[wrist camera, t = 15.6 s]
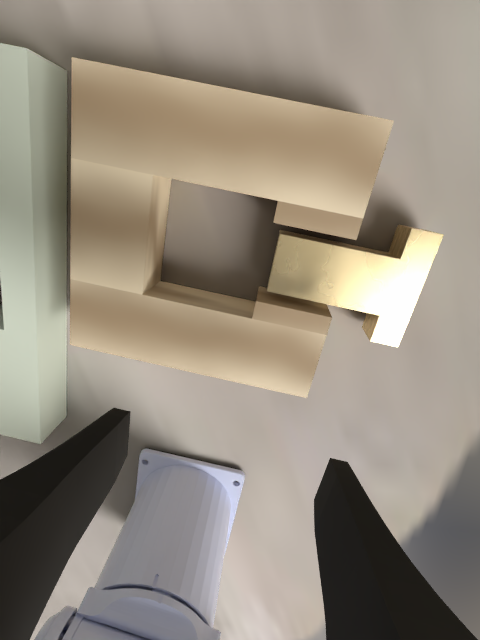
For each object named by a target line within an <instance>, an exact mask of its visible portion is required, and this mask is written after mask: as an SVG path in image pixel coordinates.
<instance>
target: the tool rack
mask: <svg viewBox="0 0 480 640" xmlns="http://www.w3.org/2000/svg"><path fill="white" fill-rule="evenodd" d="M0 280H1V294H2V305H0V435H4V436H8V437H12V438H17V439H21V440H25V441H29V442H34V443H38V444H41V443H42V442H43V441H44V440H45V439H46V438H47V437H48V436H49V435H50V434H51V433H52V431H53V430H54V429H55V428H56V427H57V426H58V425H59V424H60V423H61V422H62V421H63V420H64V419H65V418H66V417H67V70H65V69H63V68H61V67H59V66H58V65H56V64H54V63H52V62H51V61H49V60H47V59H45V58H44V57H42V56H40V55H38V54H36V53H35V52H33V51H31V50H29V49H28V48H23V47H18V46H13V45H8V44H3V43H0Z"/></svg>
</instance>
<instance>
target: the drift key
mask: <svg viewBox="0 0 480 640" xmlns="http://www.w3.org/2000/svg"><path fill="white" fill-rule="evenodd" d="M442 238H443V235H442V234H439V233H435V232H431V231H427V230H423V229H418V228H413V227H408V226H404V225H399V224H398V227H397V229H396V232H395V235H394V238H393V241H392V244H391V246H390V249H389V252H384V251H379V250H374V249H370V248H365V247H360V246H355V245H351V244H346V243H341V242H336V241H332V240H327V239H322V238H317V237H312V236H308V235H303V234H298V233H293V232H289V231H284V230H280V232H279V236H278V241H277V245H276V249H275V254H274V258H273V262H272V267H271V271H270V275H269V280H268V286H267V291H268V292H273V293H277V294H282V295H286V296H291V297H296V298H300V299H305V300H310V301H314V302H319V303H324V304H328V305H333V306H337V307H342V308H347V309H351V310H356V311H361V312H365V313H367V314H366V317H365V320H364V323H363V326H362V328H363V330H364V332H365V333H366V335H367V337H368V338H369V340H370V341H371V342H376V343H381V344H385V345H390V346H394V347H398V346H399V344H400V341H401V339H402V336H403V334H404V331H405V329H406V326H407V324H408V321H409V319H410V316H411V314H412V312H413V309H414V307H415V304H416V302H417V299H418V297H419V294H420V292H421V289H422V287H423V284H424V282H425V280H426V277H427V275H428V272H429V270H430V267H431V265H432V262H433V260H434V257H435V255H436V252H437V250H438V247H439V245H440V243H441V240H442Z"/></svg>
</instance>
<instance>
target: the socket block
mask: <svg viewBox="0 0 480 640" xmlns="http://www.w3.org/2000/svg"><path fill="white" fill-rule="evenodd" d="M393 122H394V121H392V120H387V119H382V118H377V117H372V116H367V115H362V114H357V113H352V112H347V111H342V110H337V109H332V108H327V107H322V106H317V105H312V104H306V103H301V102H296V101H291V100H286V99H281V98H276V97H271V96H266V95H261V94H256V93H251V92H246V91H241V90H236V89H231V88H226V87H221V86H215V85H210V84H205V83H200V82H195V81H190V80H185V79H180V78H175V77H170V76H165V75H160V74H155V73H150V72H145V71H140V70H135V69H130V68H124V67H119V66H114V65H109V64H104V63H99V62H94V61H89V60H84V59H79V58H74V57H72V74H71V247H70V345H73V346H77V347H82V348H86V349H91V350H95V351H100V352H104V353H109V354H113V355H118V356H122V357H126V358H131V359H135V360H140V361H144V362H149V363H153V364H158V365H162V366H166V367H171V368H175V369H180V370H184V371H189V372H193V373H198V374H202V375H206V376H211V377H215V378H220V379H224V380H229V381H233V382H238V383H242V384H246V385H251V386H255V387H260V388H264V389H269V390H273V391H278V392H282V393H286V394H291V395H295V396H300V397H304V398H307V396H308V393H309V389H310V386H311V383H312V380H313V377H314V373H315V370H316V367H317V364H318V361H319V358H320V354H321V351H322V348H323V345H324V342H325V338H326V335H327V332H328V329H329V326H330V323H331V319H332V316H331V314H330V312H329V309H328V307H327V304H324V303H319V302H314V301H310V300H305V299H300V298H296V297H291V296H286V295H282V294H277V293H273V292H268V291H267V288H266V287H261V286H259V289H258V294H257V298H256V302H255V301H251V300H246V299H241V298H237V297H232V296H228V295H223V294H218V293H214V292H209V291H205V290H200V289H195V288H191V287H186V286H182V285H177V284H172V283H168V282H163V281H160V280H161V271H162V262H163V252H164V243H165V234H166V225H167V215H168V206H169V197H170V187H171V179H175V180H180V181H185V182H189V183H194V184H199V185H204V186H209V187H214V188H218V189H223V190H228V191H233V192H238V193H243V194H247V195H252V196H257V197H262V198H267V199H271V200H276V201H278V203H277V207H276V212H275V216H274V221H273V223H277V224H282V225H286V226H291V227H296V228H301V229H306V230H310V231H315V232H320V233H325V234H329V235H334V236H339V237H344V238H348V239H353V240H357V237H358V233H359V230H360V227H361V224H362V221H363V217H364V214H365V211H366V208H367V205H368V202H369V198H370V195H371V192H372V189H373V186H374V182H375V179H376V176H377V173H378V170H379V167H380V163H381V160H382V157H383V154H384V151H385V147H386V144H387V141H388V138H389V135H390V131H391V128H392V125H393Z"/></svg>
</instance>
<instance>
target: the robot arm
mask: <svg viewBox="0 0 480 640" xmlns="http://www.w3.org/2000/svg"><path fill="white" fill-rule="evenodd" d="M129 424H130V411H125V410H121V409H117V408H113V409H111V410H110V411H108V412H107V413H106V414H104V415H103V416H101V417H100V418H99V419H97V420H96V421H94V422H93V423H92V424H90V425H89V426H87V427H86V428H85V429H83V430H82V431H80V432H79V433H77V434H76V435H74V436H73V437H71V438H70V439H68V440H67V441H66V442H64V443H63V444H61V445H59V446H58V447H56V448H55V449H53V450H52V451H50V452H48V453H47V454H45V455H43V456H42V457H40V458H39V459H37V460H35V461H34V462H32V463H30V464H28V465H27V466H25V467H23V468H21V469H19V470H18V471H16V472H14V473H12V474H10V475H8V476H6V477H4V478H3V479H1V480H0V640H30V638H31V635H32V633H33V631H34V629H35V627H36V625H37V623H38V621H39V619H40V617H41V614H42V612H43V610H44V608H45V606H46V604H47V602H48V600H49V598H50V596H51V594H52V592H53V590H54V588H55V586H56V584H57V582H58V580H59V578H60V576H61V574H62V572H63V570H64V568H65V566H66V564H67V562H68V560H69V558H70V556H71V554H72V552H73V551H74V549H75V547H76V545H77V544H78V542H79V540H80V539H81V537H82V535H83V534H84V532H85V531H86V529H87V527H88V526H89V524H90V522H91V521H92V519H93V517H94V516H95V514H96V512H97V511H98V509H99V508H100V506H101V504H102V503H103V501H104V499H105V498H106V496H107V494H108V493H109V491H110V489H111V488H112V486H113V484H114V482H115V480H116V478H117V476H118V474H119V472H120V470H121V468H122V465H123V463H124V461H125V459H126V457H127V451H128V438H129ZM145 460H147V461H145ZM244 478H245V474H244V472H242V471H241V470H237V469H233V468H229V467H224V466H220V465H216V464H211V463H207V462H203V461H199V460H194V459H190V458H186V457H181V456H177V455H173V454H169V453H164V452H160V451H156V450H151V449H143V450H142V451H141V453H140V455H139V465H138V475H137V484H136V494H135V501H134V503H133V506H132V508H131V510H130V512H129V514H128V516H127V518H126V521H125V523H124V525H123V527H122V529H121V531H120V534H119V536H118V538H117V540H116V542H115V544H114V546H113V549H112V551H111V553H110V555H109V557H108V559H107V561H106V564H105V566H104V568H103V570H102V572H101V574H100V576H99V579H98V581H97V583H96V585H95V587H94V588H93V587H90V588H88V591H87V593H86V595H85V597H84V599H83V601H82V603H81V605H80V607H79V609H78V611H77V608H74V607H71V606H66V607H64V608H63V609H62V610H61V611H60V612H58V613H57V614H55V615H53V616H52V617H50V618H49V619H48V620H47V621H46V623H45V624H44V625H43V627H42V628H41V630H40V631H39V633H38V634H37V636H36V638H35V639H34V640H220V634H221V632H220V631H219V630H216V629H214V628H213V625H214V619H215V612H216V605H217V599H218V592H219V585H220V579H221V572H222V566H223V559H224V555H225V552H226V548H227V544H228V540H229V536H230V533H231V529H232V525H233V521H234V517H235V513H236V510H237V506H238V502H239V498H240V494H241V490H242V486H243V483H244ZM235 481H238V482H235ZM314 524H315V538H316V546H317V554H318V562H319V570H320V578H321V586H322V594H323V601H324V611H325V621H326V640H478V639H477V638H476V637H475V636H474V635H473V634H472V633H471V632H470V631H469V630H468V629H467V628H466V627H465V625H464V624H463V623H462V622H461V621H460V620H459V619H458V618H457V616H456V615H455V614H454V613H453V612H452V611H451V610H450V609H449V607H448V606H447V605H446V604H445V603H444V602H443V600H442V599H441V598H440V597H439V596H438V595H437V593H436V592H435V591H434V590H433V589H432V587H431V586H430V585H429V584H428V582H427V581H426V580H425V578H424V577H423V576H422V575H421V573H420V572H419V571H418V570H417V569H416V567H415V566H414V565H413V563H412V562H411V560H410V559H409V558H408V556H407V555H406V554H405V552H404V551H403V549H402V548H401V547H400V545H399V544H398V542H397V541H396V539H395V538H394V537H393V535H392V534H391V532H390V531H389V529H388V528H387V526H386V525H385V523H384V521H383V520H382V518H381V517H380V515H379V514H378V512H377V510H376V509H375V507H374V506H373V504H372V502H371V501H370V499H369V497H368V496H367V494H366V492H365V491H364V489H363V487H362V486H361V484H360V482H359V481H358V479H357V477H356V475H355V474H354V472H353V470H352V469H351V467H350V465H349V464H348V462H345V461H341V460H336V459H332V458H330V460H329V463H328V465H327V468H326V470H325V473H324V476H323V478H322V481H321V483H320V486H319V488H318V491H317V494H316V496H315V499H314Z"/></svg>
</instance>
